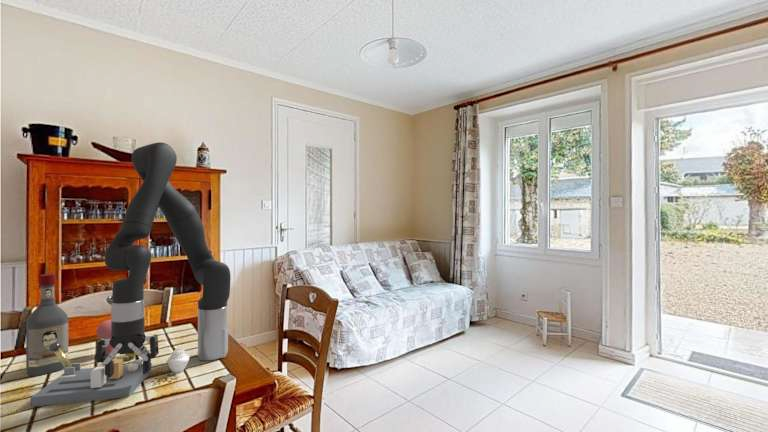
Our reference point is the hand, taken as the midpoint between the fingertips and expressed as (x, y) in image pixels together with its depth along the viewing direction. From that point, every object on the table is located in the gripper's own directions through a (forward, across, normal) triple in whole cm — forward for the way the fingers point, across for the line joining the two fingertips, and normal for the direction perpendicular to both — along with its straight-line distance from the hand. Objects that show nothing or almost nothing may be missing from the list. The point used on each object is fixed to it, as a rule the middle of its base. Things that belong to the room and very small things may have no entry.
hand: (128, 374), depth 98 cm
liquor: (+5, +31, -22) cm, 38 cm away
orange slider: (+2, +5, -5) cm, 7 cm away
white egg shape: (+5, -9, -12) cm, 16 cm away
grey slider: (+2, +7, 0) cm, 7 cm away
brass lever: (+2, +19, -12) cm, 23 cm away
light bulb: (+5, +18, -31) cm, 36 cm away
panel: (+5, +10, -6) cm, 12 cm away
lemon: (+5, +9, -26) cm, 28 cm away
